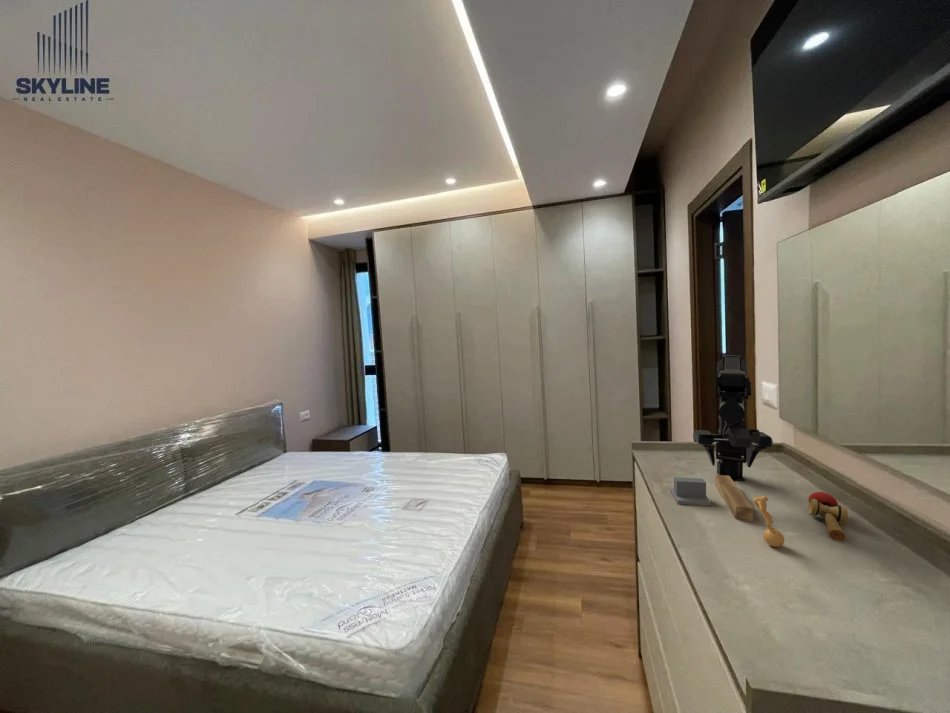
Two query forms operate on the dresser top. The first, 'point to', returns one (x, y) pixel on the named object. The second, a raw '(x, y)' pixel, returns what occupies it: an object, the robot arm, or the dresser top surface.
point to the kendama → (829, 513)
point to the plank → (734, 498)
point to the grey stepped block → (690, 491)
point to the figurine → (770, 534)
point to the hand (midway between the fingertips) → (730, 466)
